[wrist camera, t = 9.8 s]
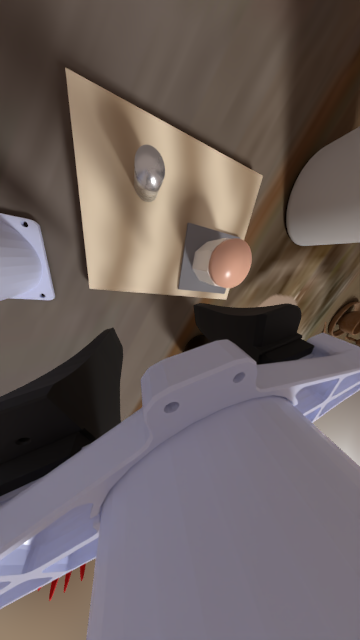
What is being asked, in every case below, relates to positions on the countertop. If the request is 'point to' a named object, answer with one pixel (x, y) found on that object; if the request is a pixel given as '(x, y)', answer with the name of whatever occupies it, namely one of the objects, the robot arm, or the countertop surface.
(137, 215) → the board
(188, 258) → the pad
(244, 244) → the brown egg in cup
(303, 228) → the cylinder vase
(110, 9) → the countertop surface
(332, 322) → the place setting
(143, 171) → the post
